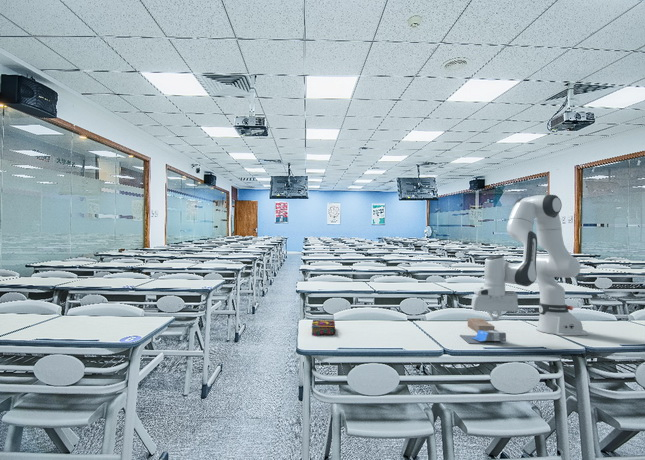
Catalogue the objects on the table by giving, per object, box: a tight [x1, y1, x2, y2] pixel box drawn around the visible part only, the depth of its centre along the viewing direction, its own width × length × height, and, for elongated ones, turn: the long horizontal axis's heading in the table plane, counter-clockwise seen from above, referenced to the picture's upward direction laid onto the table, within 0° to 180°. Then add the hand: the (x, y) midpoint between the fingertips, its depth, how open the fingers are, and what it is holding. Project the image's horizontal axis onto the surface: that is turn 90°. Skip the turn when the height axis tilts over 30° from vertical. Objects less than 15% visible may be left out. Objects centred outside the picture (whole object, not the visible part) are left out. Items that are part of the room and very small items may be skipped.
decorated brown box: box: [311, 319, 336, 337], centre depth 185 cm, size 11×16×5 cm
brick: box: [467, 317, 496, 334], centre depth 192 cm, size 17×8×5 cm, turn 178°
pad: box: [459, 334, 504, 345], centre depth 172 cm, size 15×13×1 cm
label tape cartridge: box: [473, 329, 507, 342], centre depth 170 cm, size 9×4×12 cm
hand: (494, 320), depth 171 cm, fingers closed
